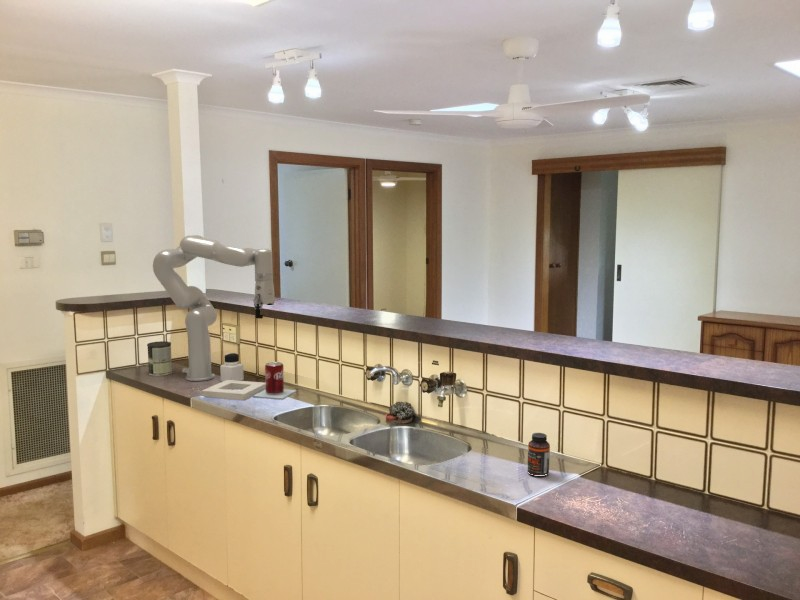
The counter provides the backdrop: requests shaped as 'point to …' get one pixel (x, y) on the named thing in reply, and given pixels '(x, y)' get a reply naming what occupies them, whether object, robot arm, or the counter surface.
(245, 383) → the collar dock
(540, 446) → the supplement bottle
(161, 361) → the coffee can
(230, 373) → the medicine bottle
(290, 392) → the mat
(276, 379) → the soda can
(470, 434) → the counter surface
